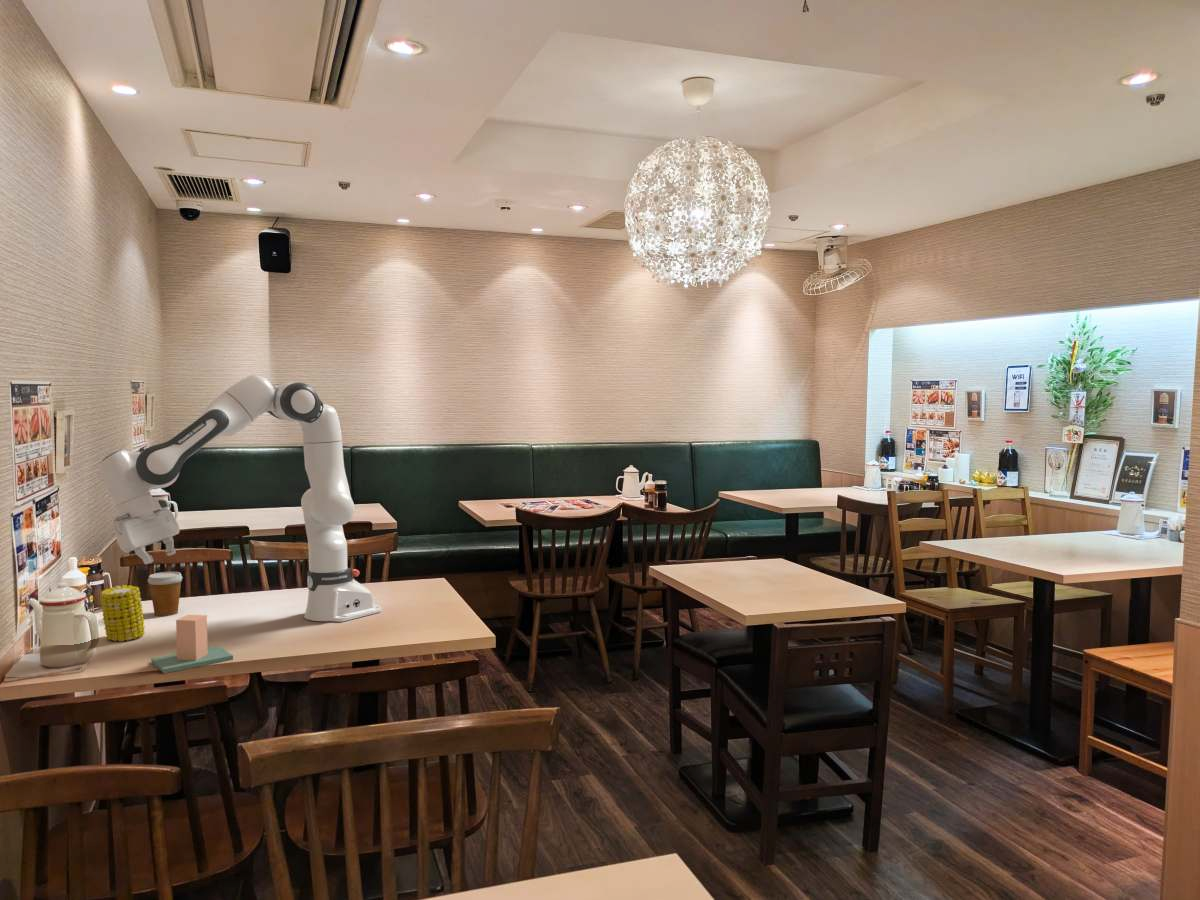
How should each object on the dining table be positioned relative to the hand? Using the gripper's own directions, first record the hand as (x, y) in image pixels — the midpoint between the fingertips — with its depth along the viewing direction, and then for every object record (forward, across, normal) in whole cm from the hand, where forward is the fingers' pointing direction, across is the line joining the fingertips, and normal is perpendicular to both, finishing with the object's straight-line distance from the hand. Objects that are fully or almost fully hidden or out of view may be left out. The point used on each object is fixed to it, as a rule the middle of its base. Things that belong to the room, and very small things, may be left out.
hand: (161, 558), depth 219 cm
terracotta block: (+26, -10, -4) cm, 28 cm away
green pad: (+27, -10, -3) cm, 29 cm away
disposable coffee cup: (+15, +31, +29) cm, 45 cm away
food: (+15, +6, +24) cm, 30 cm away
